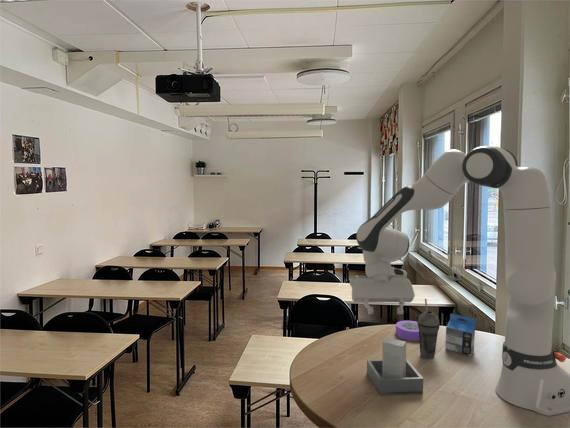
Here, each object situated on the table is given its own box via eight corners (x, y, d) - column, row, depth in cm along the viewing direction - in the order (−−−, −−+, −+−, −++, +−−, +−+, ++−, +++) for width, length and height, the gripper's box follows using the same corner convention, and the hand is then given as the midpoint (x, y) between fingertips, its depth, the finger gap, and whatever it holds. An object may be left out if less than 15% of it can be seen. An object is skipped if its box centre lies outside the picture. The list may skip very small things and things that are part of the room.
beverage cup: (440, 361, 134) (442, 303, 133) (417, 359, 136) (419, 301, 134) (436, 352, 142) (438, 296, 140) (415, 350, 143) (416, 295, 141)
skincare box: (405, 380, 120) (407, 341, 119) (401, 386, 117) (403, 346, 116) (385, 375, 124) (386, 337, 123) (381, 381, 120) (382, 341, 119)
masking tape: (433, 337, 156) (434, 327, 155) (412, 343, 150) (412, 333, 149) (410, 327, 166) (410, 318, 165) (389, 333, 160) (389, 323, 160)
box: (406, 372, 127) (406, 358, 127) (423, 393, 115) (423, 378, 114) (366, 374, 126) (367, 360, 126) (379, 395, 114) (379, 380, 113)
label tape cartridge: (444, 349, 144) (445, 315, 143) (448, 346, 147) (449, 313, 146) (470, 356, 138) (472, 321, 137) (474, 353, 141) (475, 318, 140)
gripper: (350, 270, 136) (354, 308, 127) (411, 271, 136) (419, 309, 127) (347, 280, 141) (351, 317, 132) (406, 280, 141) (414, 317, 132)
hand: (385, 313), depth 129 cm, fingers open, 8 cm apart
